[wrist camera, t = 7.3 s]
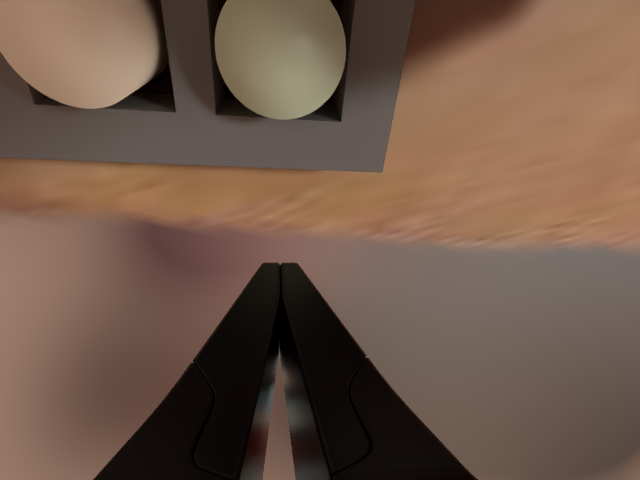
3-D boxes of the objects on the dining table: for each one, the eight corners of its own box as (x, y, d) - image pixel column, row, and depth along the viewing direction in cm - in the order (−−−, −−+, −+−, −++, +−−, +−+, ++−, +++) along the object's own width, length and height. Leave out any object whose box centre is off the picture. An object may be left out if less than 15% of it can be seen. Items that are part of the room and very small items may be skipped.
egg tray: (409, -92, 14) (437, -110, 12) (369, 150, 20) (382, 172, 17) (-327, -194, 11) (-500, -249, 9) (-129, 127, 17) (-199, 149, 14)
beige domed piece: (164, -35, 14) (126, -45, 11) (180, 87, 17) (153, 112, 13) (39, -48, 14) (-47, -64, 10) (75, 80, 16) (17, 104, 13)
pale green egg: (335, -16, 15) (354, -20, 12) (325, 97, 18) (338, 122, 14) (225, -28, 15) (208, -36, 11) (232, 90, 17) (219, 116, 14)
